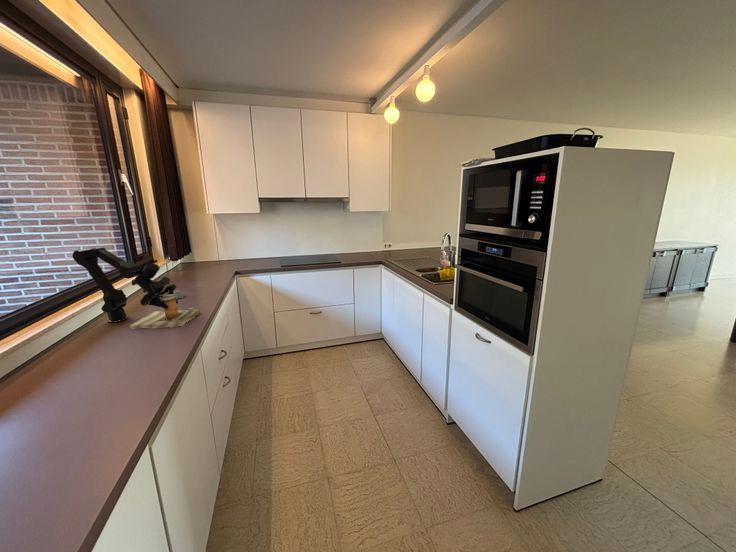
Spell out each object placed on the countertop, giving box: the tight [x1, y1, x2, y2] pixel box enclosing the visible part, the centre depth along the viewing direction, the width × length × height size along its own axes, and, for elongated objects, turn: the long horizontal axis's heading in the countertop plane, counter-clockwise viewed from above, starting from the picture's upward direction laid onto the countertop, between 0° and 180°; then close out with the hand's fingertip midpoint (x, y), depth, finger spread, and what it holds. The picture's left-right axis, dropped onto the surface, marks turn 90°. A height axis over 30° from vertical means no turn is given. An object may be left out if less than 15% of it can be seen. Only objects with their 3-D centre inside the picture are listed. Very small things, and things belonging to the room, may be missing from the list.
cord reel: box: [161, 294, 179, 321], centre depth 153 cm, size 6×6×13 cm
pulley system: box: [160, 289, 185, 299], centre depth 188 cm, size 27×5×15 cm
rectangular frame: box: [129, 309, 201, 330], centre depth 154 cm, size 24×18×2 cm
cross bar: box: [172, 307, 195, 323], centre depth 154 cm, size 2×16×2 cm, turn 1°
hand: (172, 305), depth 152 cm, fingers open, 7 cm apart
